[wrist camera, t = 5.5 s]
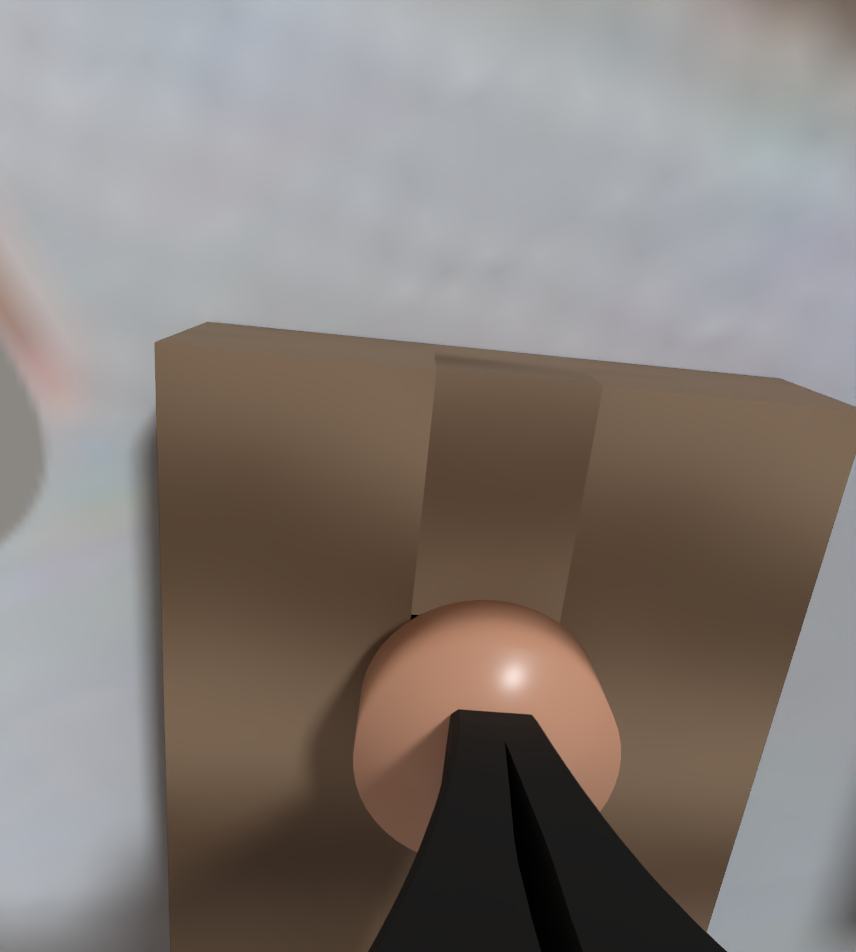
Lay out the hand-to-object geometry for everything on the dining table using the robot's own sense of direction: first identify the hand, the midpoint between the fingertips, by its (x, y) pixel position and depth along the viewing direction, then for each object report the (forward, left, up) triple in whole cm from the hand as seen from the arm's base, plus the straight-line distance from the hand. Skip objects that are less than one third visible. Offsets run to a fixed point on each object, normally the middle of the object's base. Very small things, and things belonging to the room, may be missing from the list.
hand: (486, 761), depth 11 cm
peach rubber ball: (0, 0, -4) cm, 4 cm away
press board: (-5, 0, -5) cm, 7 cm away
